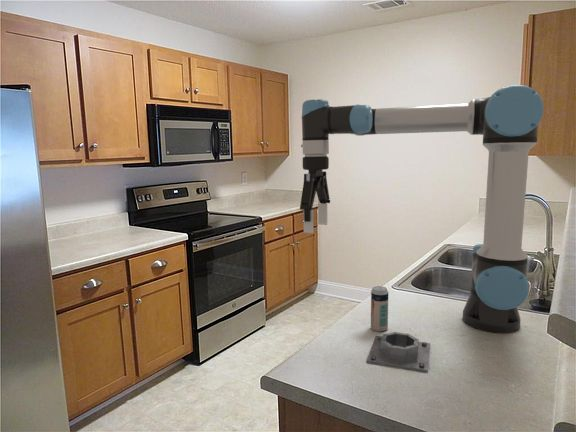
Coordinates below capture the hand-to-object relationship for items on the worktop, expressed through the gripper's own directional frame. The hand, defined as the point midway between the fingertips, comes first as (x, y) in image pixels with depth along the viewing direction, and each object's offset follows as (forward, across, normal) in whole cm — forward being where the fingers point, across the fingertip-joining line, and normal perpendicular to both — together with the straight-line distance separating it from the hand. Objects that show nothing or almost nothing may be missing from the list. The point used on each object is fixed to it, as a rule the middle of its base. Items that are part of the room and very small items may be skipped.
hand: (316, 228), depth 121 cm
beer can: (+28, +1, +19) cm, 34 cm away
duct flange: (+28, +14, +26) cm, 41 cm away
